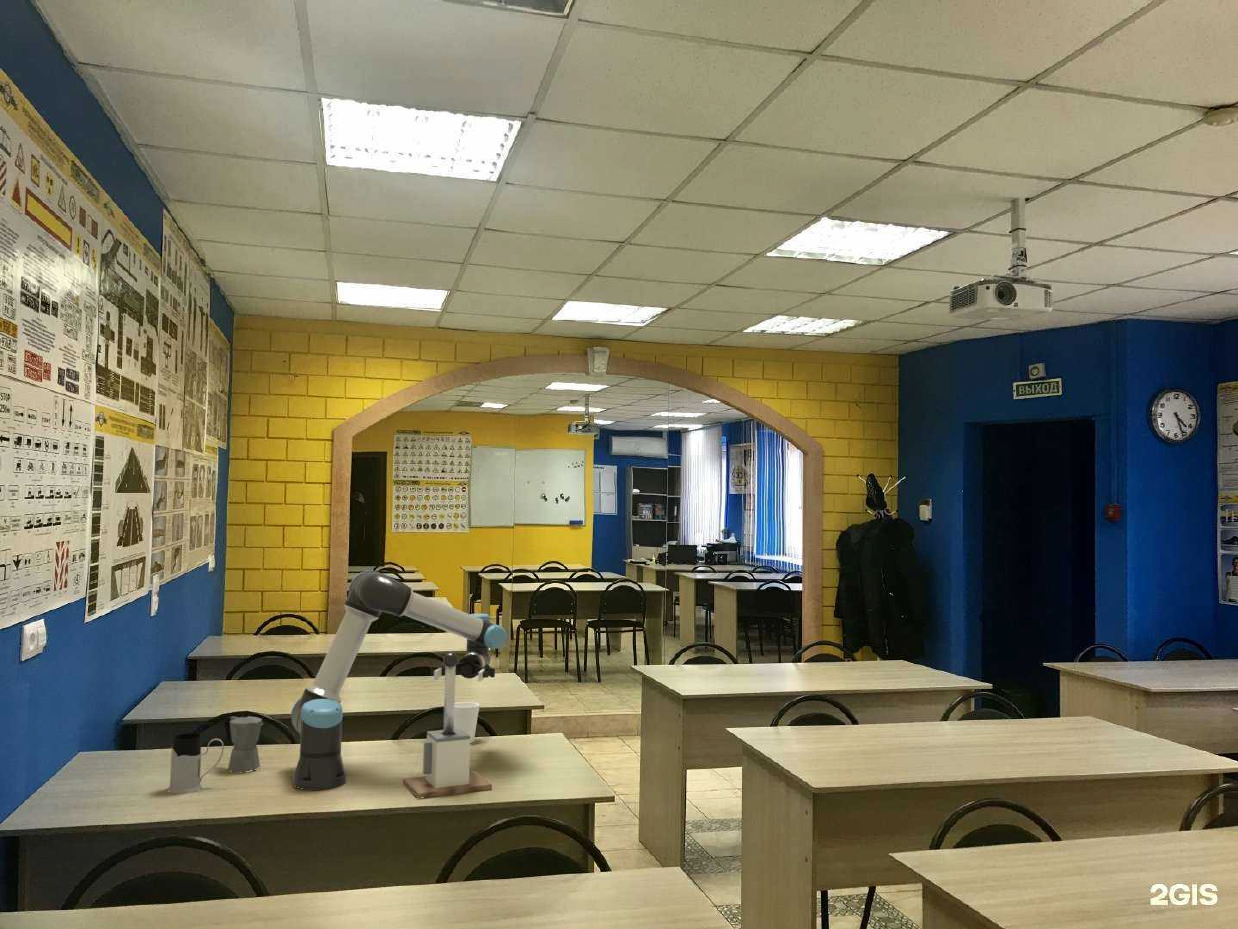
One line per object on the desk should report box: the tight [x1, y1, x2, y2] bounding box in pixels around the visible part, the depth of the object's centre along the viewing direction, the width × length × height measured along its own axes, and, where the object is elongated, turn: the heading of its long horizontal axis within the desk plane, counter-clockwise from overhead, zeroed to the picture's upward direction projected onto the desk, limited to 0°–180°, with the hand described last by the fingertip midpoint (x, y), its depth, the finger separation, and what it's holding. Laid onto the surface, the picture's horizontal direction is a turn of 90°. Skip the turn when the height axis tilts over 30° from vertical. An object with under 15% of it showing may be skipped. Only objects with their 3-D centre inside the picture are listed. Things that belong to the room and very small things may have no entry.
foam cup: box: [454, 701, 480, 744], centre depth 325 cm, size 10×9×13 cm
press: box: [422, 728, 471, 788], centre depth 271 cm, size 12×10×14 cm
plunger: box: [442, 651, 459, 736], centre depth 273 cm, size 7×7×26 cm
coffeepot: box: [223, 710, 264, 773], centre depth 286 cm, size 15×9×18 cm, turn 67°
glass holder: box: [167, 732, 225, 795], centre depth 266 cm, size 9×14×15 cm, turn 111°
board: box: [402, 770, 493, 799], centre depth 272 cm, size 22×16×2 cm
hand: (457, 676), depth 281 cm, fingers open, 13 cm apart
